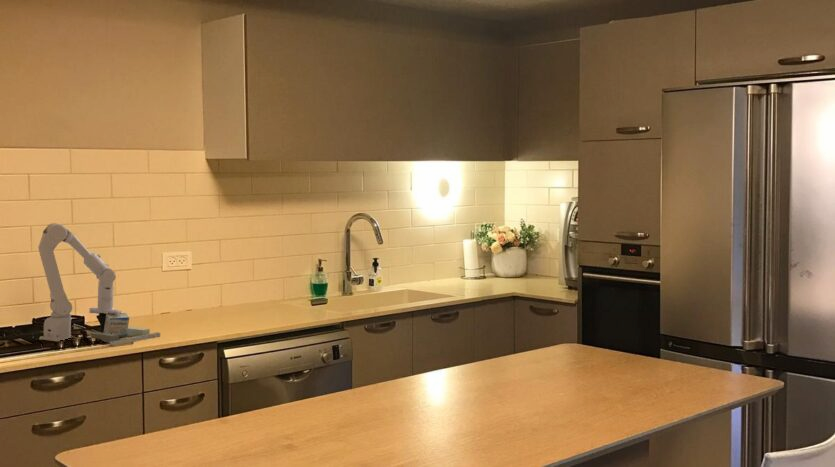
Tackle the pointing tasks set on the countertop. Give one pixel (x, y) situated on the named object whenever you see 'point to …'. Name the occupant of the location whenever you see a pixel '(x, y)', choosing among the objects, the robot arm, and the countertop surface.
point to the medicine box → (116, 324)
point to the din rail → (134, 339)
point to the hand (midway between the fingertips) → (104, 332)
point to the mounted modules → (111, 337)
